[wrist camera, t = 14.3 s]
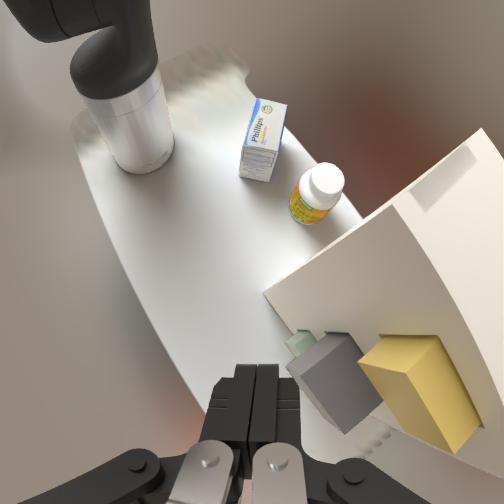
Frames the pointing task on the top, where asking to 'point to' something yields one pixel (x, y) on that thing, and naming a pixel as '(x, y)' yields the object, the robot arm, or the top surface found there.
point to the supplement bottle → (316, 193)
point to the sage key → (300, 342)
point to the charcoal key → (336, 380)
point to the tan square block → (422, 389)
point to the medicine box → (262, 140)
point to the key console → (422, 283)
